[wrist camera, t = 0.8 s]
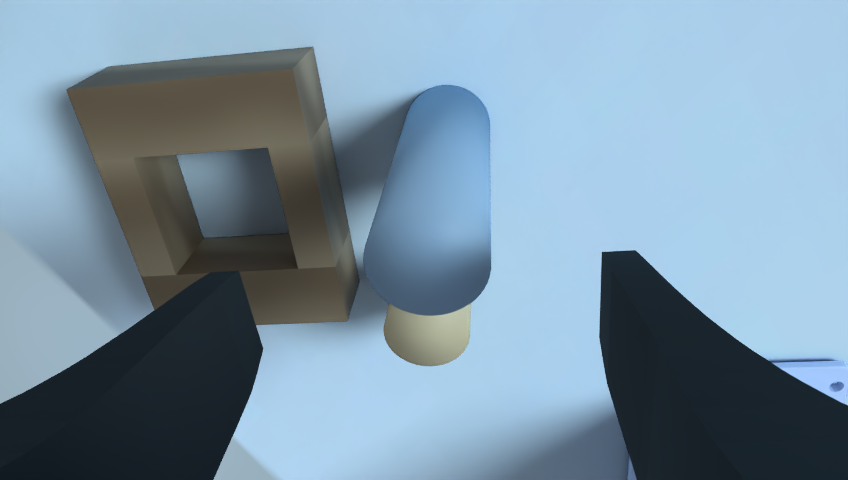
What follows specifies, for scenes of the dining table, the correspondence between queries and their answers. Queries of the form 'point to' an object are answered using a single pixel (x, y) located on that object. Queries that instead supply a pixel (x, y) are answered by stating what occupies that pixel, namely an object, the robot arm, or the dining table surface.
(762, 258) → the dining table surface
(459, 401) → the dining table surface
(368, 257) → the long dowel
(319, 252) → the block with square hole
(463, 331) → the short dowel
